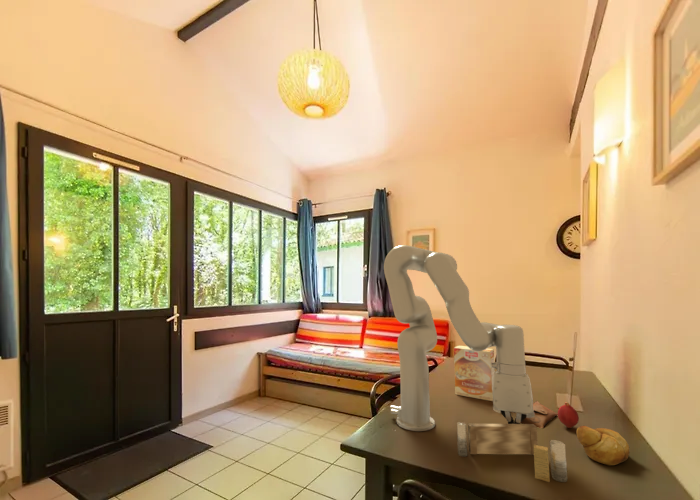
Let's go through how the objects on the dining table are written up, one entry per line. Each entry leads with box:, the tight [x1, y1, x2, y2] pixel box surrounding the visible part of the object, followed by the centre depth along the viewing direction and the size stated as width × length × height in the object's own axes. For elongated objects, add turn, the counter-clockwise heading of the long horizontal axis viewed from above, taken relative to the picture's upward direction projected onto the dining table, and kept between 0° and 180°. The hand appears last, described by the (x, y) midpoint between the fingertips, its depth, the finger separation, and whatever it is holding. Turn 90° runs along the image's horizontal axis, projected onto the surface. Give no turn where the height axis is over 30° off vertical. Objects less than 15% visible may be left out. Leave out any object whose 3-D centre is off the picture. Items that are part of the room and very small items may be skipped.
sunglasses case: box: [520, 400, 558, 429], centre depth 117 cm, size 18×7×7 cm
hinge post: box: [456, 421, 468, 458], centre depth 92 cm, size 2×2×8 cm
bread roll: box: [576, 425, 631, 466], centre depth 90 cm, size 13×10×8 cm
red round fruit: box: [557, 401, 580, 429], centre depth 109 cm, size 6×6×8 cm
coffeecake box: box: [453, 345, 496, 402], centre depth 141 cm, size 15×7×20 cm, turn 56°
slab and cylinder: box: [533, 439, 568, 483], centre depth 81 cm, size 7×5×8 cm
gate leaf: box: [467, 423, 539, 456], centre depth 92 cm, size 18×2×7 cm, turn 89°
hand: (514, 435), depth 95 cm, fingers closed
